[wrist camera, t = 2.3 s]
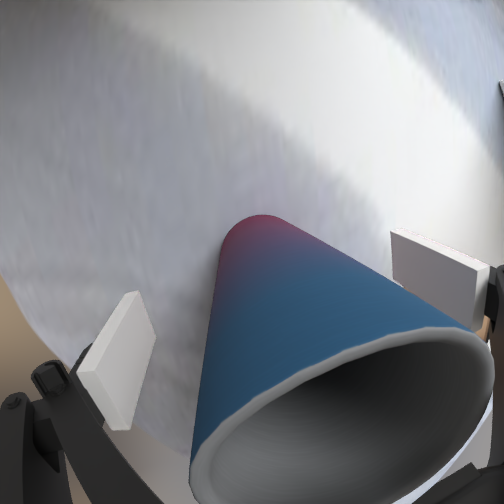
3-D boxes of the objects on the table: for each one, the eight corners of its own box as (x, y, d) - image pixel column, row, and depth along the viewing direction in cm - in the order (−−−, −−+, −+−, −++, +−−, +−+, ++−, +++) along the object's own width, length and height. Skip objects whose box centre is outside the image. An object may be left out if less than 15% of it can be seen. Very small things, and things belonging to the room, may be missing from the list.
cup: (331, 271, 20) (487, 439, 6) (241, 323, 20) (284, 546, 6) (284, 178, 18) (489, 241, 4) (184, 236, 18) (107, 449, 4)
